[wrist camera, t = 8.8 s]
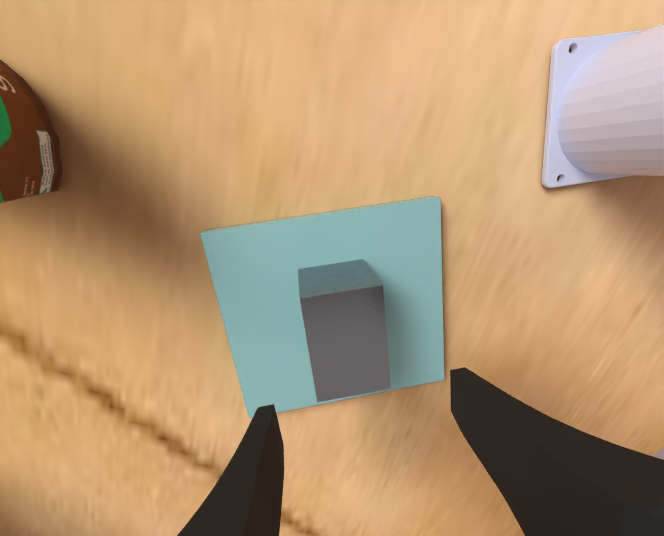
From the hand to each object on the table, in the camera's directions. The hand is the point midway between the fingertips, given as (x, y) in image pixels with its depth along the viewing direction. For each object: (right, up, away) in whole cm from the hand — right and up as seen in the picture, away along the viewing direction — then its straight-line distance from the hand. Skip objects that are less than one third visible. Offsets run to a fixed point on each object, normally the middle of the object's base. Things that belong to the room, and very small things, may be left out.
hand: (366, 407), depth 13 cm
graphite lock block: (-1, +3, +8) cm, 8 cm away
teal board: (-1, +3, +9) cm, 9 cm away
